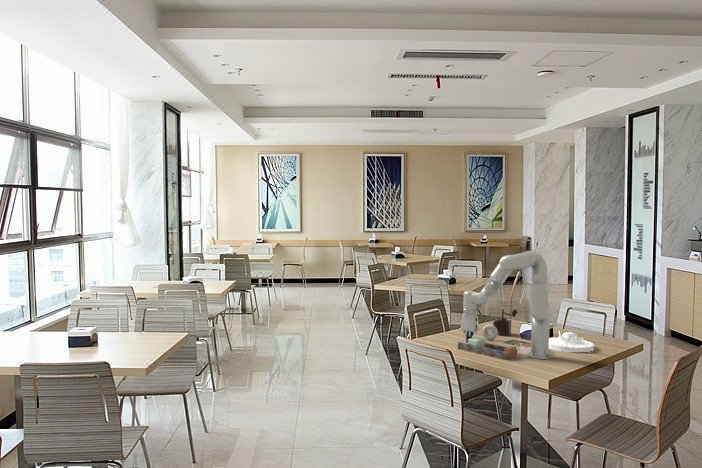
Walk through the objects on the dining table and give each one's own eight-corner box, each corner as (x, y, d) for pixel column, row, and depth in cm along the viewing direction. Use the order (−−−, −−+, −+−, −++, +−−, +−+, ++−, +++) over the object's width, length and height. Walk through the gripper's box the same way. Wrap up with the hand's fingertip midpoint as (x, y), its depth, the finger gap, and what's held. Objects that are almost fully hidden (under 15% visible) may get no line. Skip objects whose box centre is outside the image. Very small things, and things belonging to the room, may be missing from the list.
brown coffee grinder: (492, 335, 368) (493, 308, 368) (495, 331, 378) (496, 305, 377) (516, 337, 361) (517, 310, 361) (519, 334, 371) (520, 307, 370)
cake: (604, 351, 329) (605, 335, 329) (568, 355, 318) (568, 338, 318) (569, 341, 355) (569, 326, 354) (534, 344, 344) (534, 329, 344)
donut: (481, 339, 354) (481, 323, 354) (482, 338, 357) (482, 322, 357) (496, 341, 349) (497, 325, 349) (498, 340, 353) (498, 324, 352)
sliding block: (485, 347, 326) (485, 338, 326) (476, 349, 320) (476, 341, 320) (476, 345, 330) (476, 337, 330) (467, 347, 324) (467, 339, 324)
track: (517, 356, 312) (517, 346, 312) (505, 359, 304) (505, 350, 304) (469, 345, 336) (470, 336, 335) (457, 348, 328) (458, 339, 327)
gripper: (484, 313, 325) (483, 344, 326) (463, 309, 336) (462, 339, 337) (476, 314, 320) (475, 345, 321) (455, 310, 331) (454, 341, 332)
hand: (468, 342), depth 329 cm, fingers closed
